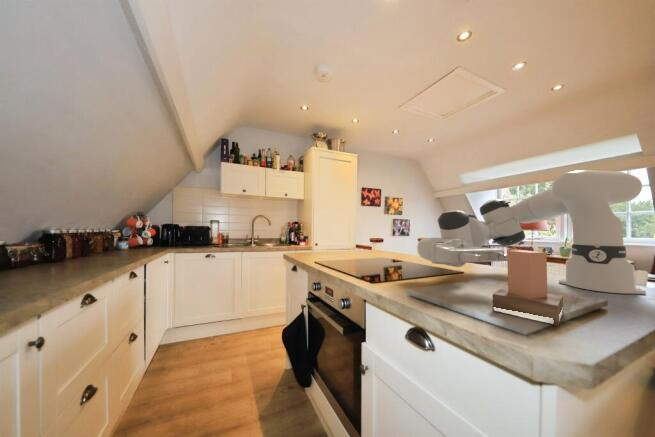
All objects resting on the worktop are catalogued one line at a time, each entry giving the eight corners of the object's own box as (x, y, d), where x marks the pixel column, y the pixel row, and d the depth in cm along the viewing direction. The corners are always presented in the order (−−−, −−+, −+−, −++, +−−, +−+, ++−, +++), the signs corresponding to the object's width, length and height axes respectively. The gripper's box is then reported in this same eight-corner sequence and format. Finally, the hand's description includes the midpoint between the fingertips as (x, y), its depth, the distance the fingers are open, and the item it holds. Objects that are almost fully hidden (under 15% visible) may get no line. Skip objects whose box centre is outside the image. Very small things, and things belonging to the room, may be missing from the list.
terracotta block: (508, 292, 57) (507, 250, 58) (524, 291, 58) (523, 250, 59) (530, 298, 52) (529, 252, 53) (547, 297, 53) (546, 252, 54)
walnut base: (504, 301, 63) (504, 286, 63) (563, 313, 55) (562, 295, 55) (492, 311, 56) (492, 293, 56) (558, 326, 47) (557, 305, 48)
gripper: (480, 261, 79) (523, 268, 66) (426, 263, 74) (461, 271, 61) (480, 242, 79) (523, 245, 66) (426, 242, 74) (461, 246, 61)
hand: (493, 258), depth 63 cm, fingers open, 8 cm apart
